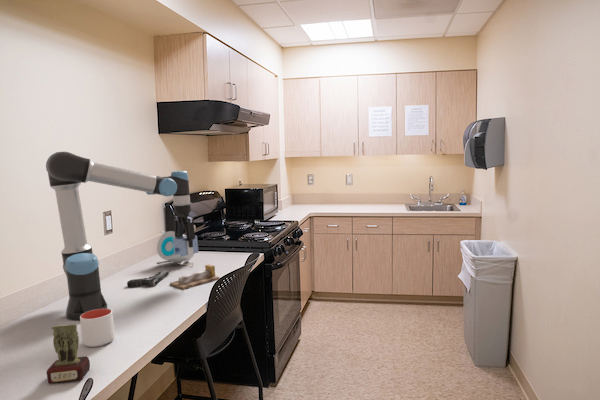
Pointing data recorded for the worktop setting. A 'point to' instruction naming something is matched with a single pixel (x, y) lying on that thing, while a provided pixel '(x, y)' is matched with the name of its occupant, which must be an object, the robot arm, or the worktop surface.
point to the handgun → (147, 280)
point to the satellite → (170, 249)
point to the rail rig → (196, 278)
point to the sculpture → (67, 356)
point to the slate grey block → (183, 245)
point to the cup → (97, 327)
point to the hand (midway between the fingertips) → (186, 253)
